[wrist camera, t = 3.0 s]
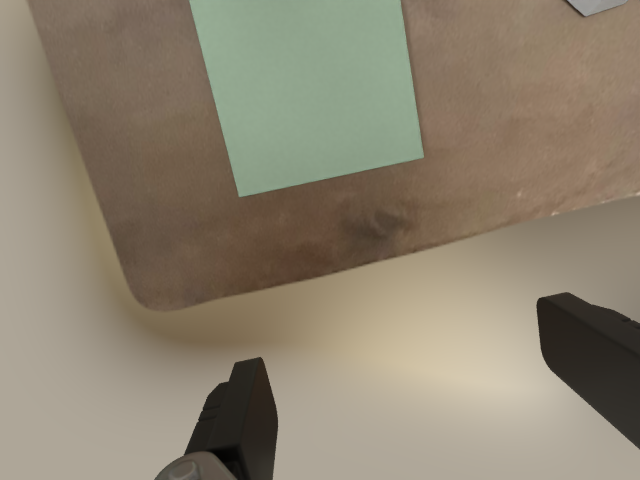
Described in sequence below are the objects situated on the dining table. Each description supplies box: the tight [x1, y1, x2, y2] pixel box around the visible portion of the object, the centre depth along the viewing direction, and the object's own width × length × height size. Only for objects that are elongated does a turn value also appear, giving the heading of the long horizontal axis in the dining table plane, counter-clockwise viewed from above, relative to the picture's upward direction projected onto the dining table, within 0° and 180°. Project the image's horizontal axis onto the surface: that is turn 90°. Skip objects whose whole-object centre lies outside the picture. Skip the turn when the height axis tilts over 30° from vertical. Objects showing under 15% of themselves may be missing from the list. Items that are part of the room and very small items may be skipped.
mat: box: [189, 0, 424, 197], centre depth 28 cm, size 22×14×1 cm, turn 12°
